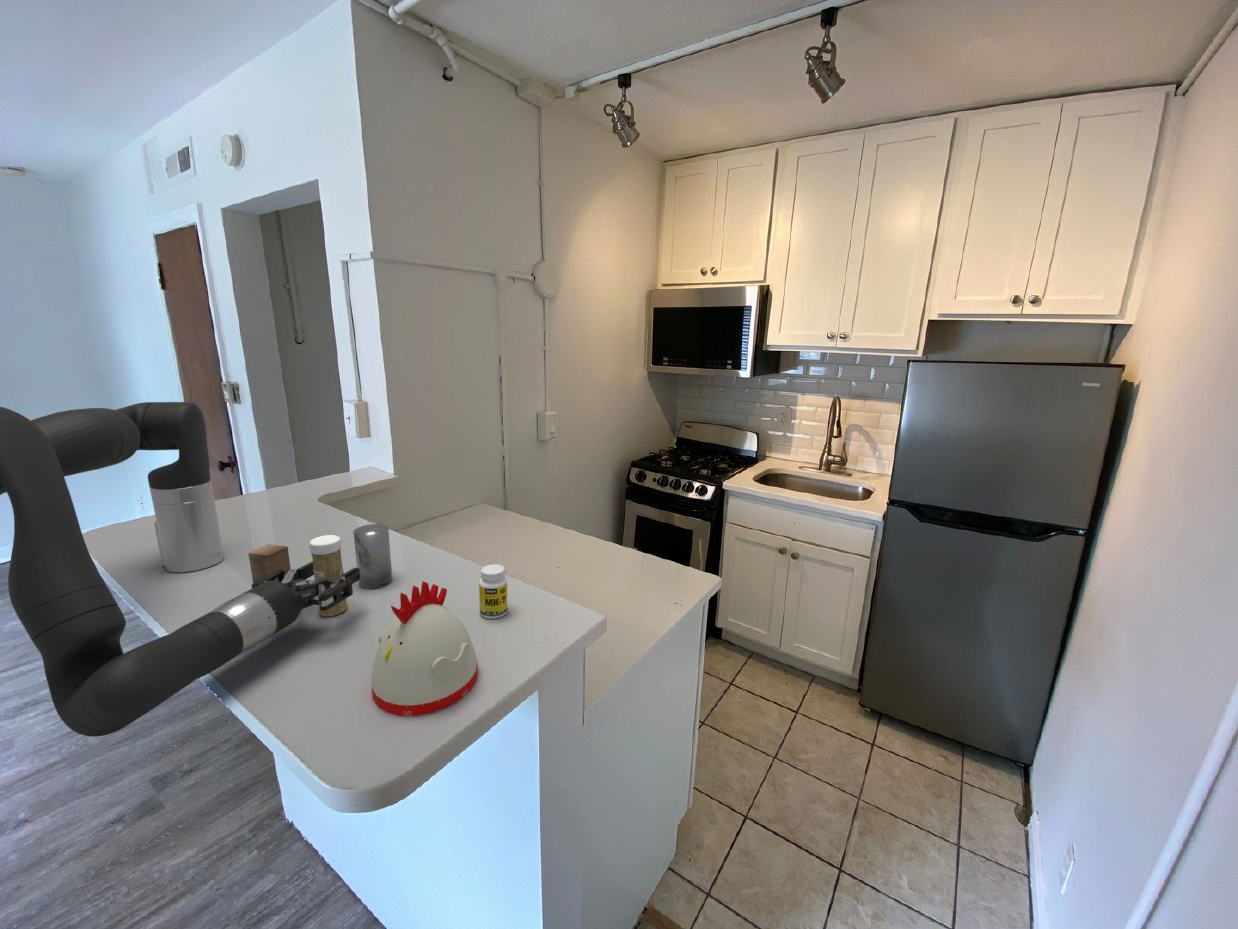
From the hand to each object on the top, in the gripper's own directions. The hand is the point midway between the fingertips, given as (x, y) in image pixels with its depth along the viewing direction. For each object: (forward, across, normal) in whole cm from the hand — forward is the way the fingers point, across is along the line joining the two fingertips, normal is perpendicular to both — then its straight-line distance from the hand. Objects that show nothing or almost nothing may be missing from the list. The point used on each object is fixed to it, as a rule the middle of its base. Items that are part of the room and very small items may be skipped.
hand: (337, 569), depth 87 cm
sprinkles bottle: (-2, 0, +7) cm, 7 cm away
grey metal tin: (+9, 0, +7) cm, 11 cm away
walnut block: (-2, +12, +7) cm, 14 cm away
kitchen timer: (-14, -26, +7) cm, 30 cm away
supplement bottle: (+5, -27, +7) cm, 28 cm away
